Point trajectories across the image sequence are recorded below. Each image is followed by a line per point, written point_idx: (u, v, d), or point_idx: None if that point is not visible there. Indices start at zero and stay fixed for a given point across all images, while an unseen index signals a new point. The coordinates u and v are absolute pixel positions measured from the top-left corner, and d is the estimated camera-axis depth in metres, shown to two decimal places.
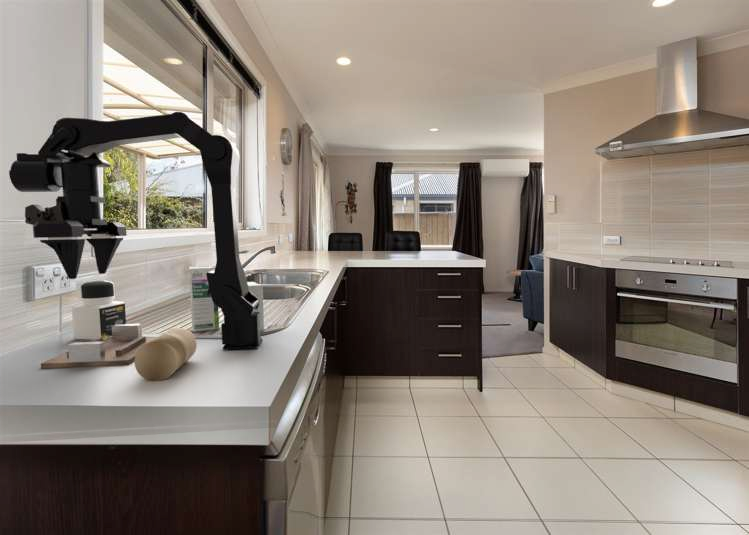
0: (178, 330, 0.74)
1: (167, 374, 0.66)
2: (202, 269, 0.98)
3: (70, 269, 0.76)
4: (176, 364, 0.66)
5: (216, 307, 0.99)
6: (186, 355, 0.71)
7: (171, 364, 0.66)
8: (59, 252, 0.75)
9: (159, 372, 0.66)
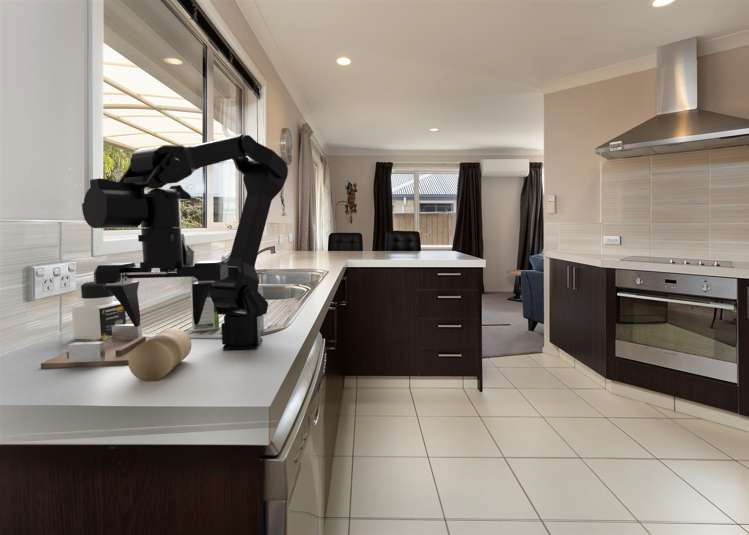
0: (167, 330, 0.73)
1: (164, 371, 0.66)
2: None
3: None
4: (170, 359, 0.66)
5: None
6: (180, 350, 0.71)
7: (165, 360, 0.66)
8: None
9: (156, 371, 0.66)
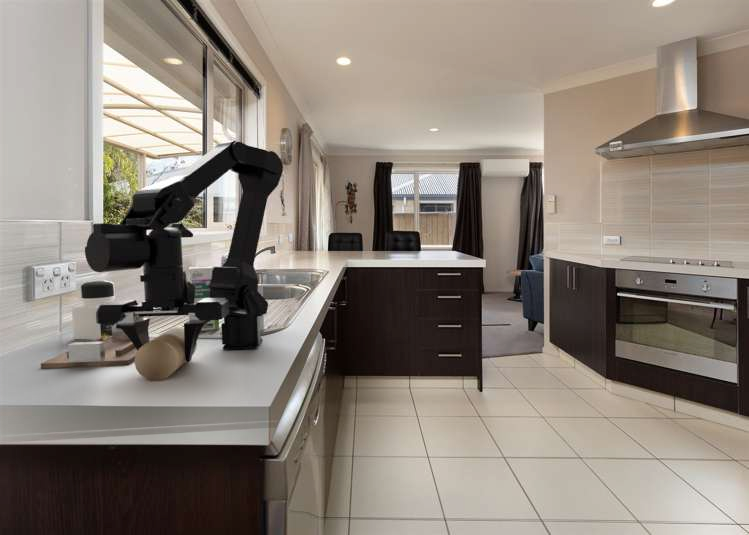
0: (179, 329, 0.74)
1: (166, 374, 0.66)
2: (202, 269, 0.98)
3: None
4: (176, 364, 0.66)
5: None
6: None
7: (171, 364, 0.66)
8: None
9: (159, 372, 0.66)
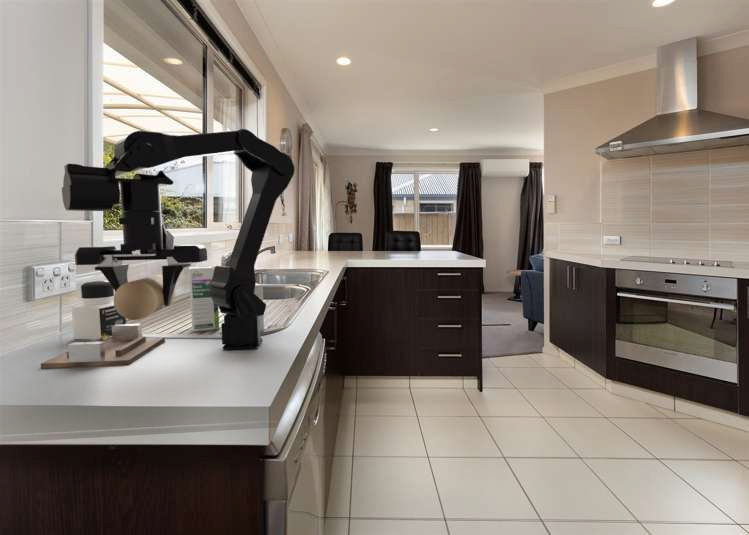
0: (157, 276, 0.75)
1: (145, 313, 0.68)
2: (202, 269, 0.98)
3: None
4: (155, 304, 0.68)
5: (216, 307, 0.99)
6: None
7: (150, 303, 0.68)
8: None
9: (137, 311, 0.68)
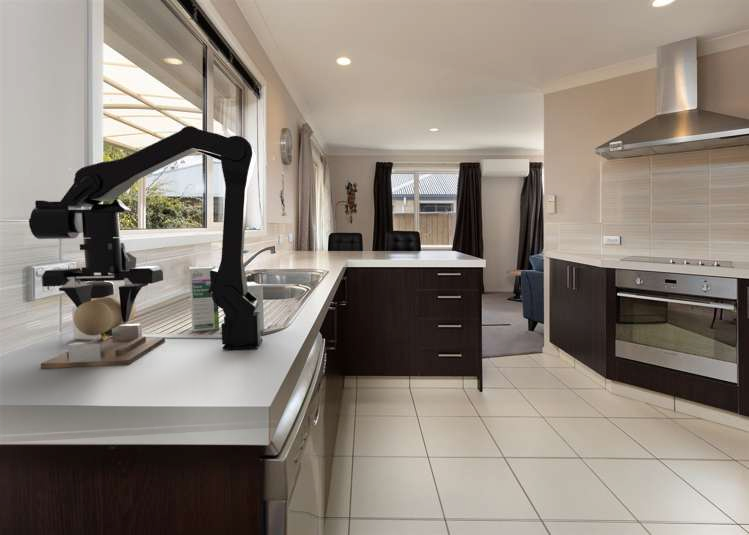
0: None
1: (102, 330, 0.76)
2: (202, 269, 0.98)
3: None
4: (111, 321, 0.76)
5: (216, 307, 0.99)
6: None
7: (106, 321, 0.76)
8: None
9: (95, 328, 0.76)
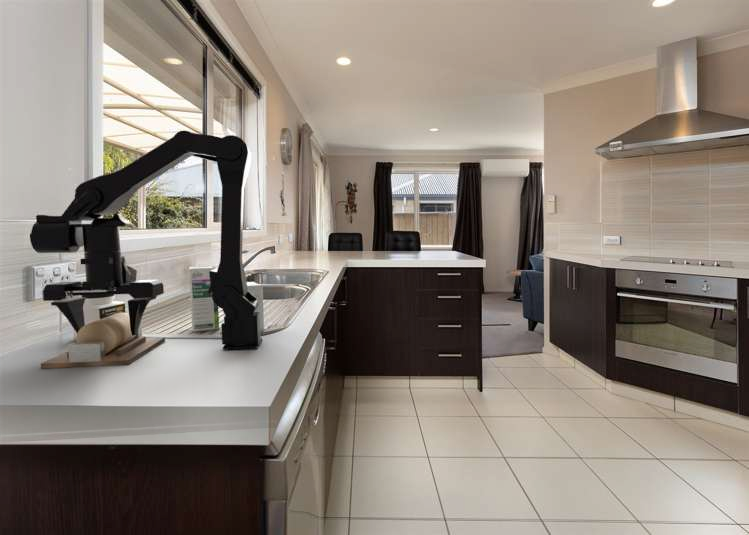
0: (121, 314, 0.84)
1: None
2: (202, 269, 0.98)
3: None
4: (113, 343, 0.77)
5: (216, 307, 0.99)
6: (125, 337, 0.81)
7: (108, 343, 0.76)
8: None
9: None
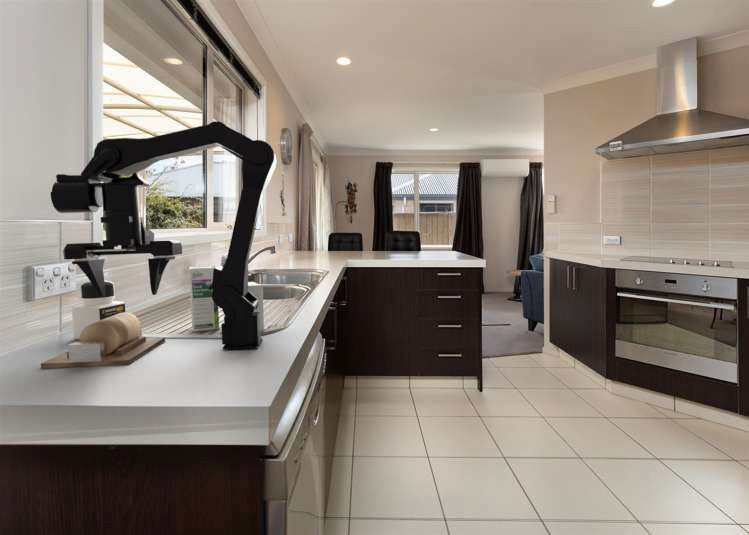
0: (127, 315, 0.84)
1: None
2: (202, 269, 0.98)
3: None
4: (115, 346, 0.77)
5: (216, 307, 0.99)
6: (127, 339, 0.81)
7: (110, 345, 0.76)
8: None
9: None
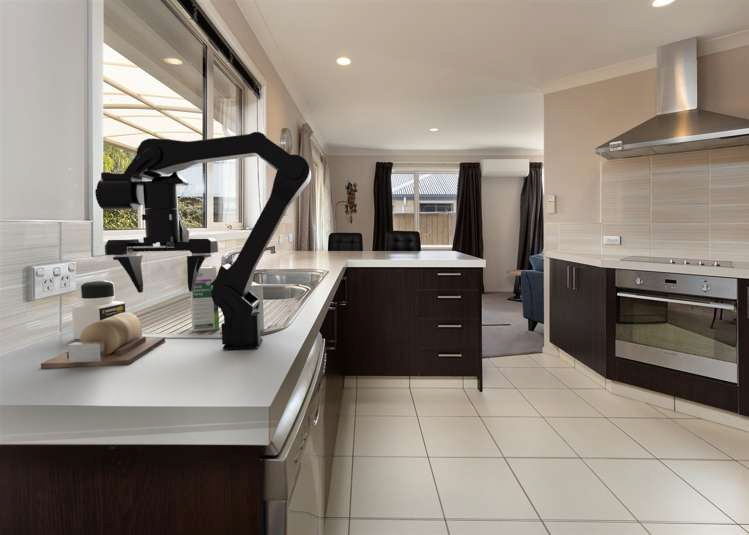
0: (128, 316, 0.84)
1: None
2: (202, 269, 0.98)
3: None
4: (115, 347, 0.77)
5: (216, 307, 0.99)
6: (127, 340, 0.81)
7: (111, 345, 0.76)
8: None
9: None
